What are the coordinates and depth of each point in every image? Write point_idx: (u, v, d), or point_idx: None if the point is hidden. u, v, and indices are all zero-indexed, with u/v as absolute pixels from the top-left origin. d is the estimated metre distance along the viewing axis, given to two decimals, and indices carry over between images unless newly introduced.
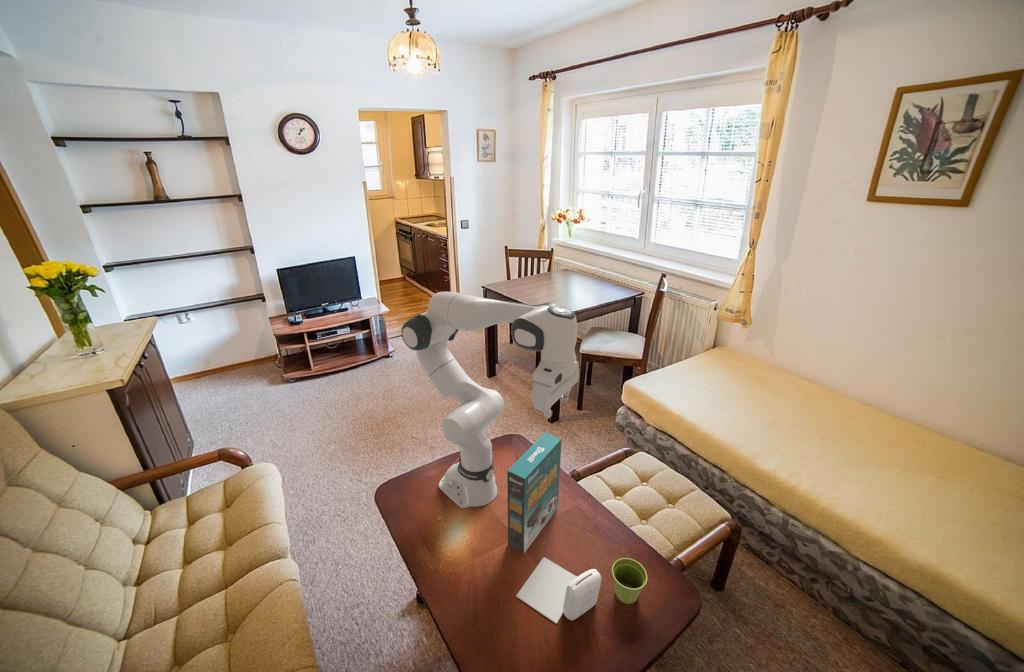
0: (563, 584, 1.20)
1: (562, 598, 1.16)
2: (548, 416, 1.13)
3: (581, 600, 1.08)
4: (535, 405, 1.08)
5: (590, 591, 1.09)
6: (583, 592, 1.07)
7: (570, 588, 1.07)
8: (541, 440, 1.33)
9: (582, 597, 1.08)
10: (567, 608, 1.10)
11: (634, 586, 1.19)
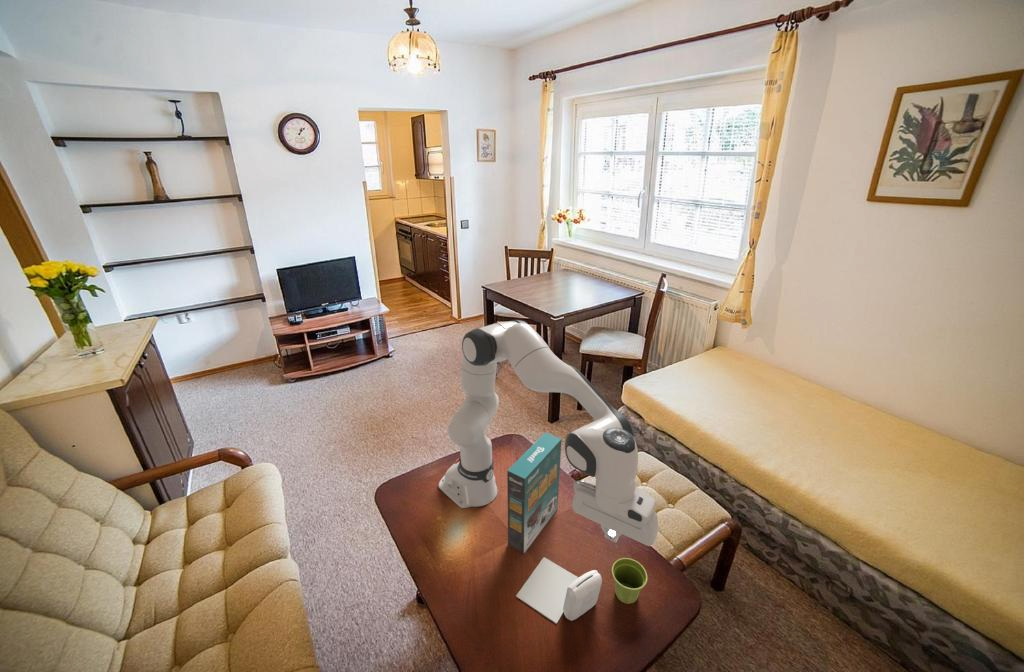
0: (563, 584, 1.20)
1: (562, 598, 1.16)
2: (618, 537, 1.01)
3: (581, 602, 1.08)
4: (654, 541, 0.93)
5: (590, 592, 1.08)
6: (583, 593, 1.07)
7: (571, 589, 1.07)
8: (541, 440, 1.33)
9: (582, 599, 1.07)
10: (567, 609, 1.09)
11: (634, 586, 1.19)
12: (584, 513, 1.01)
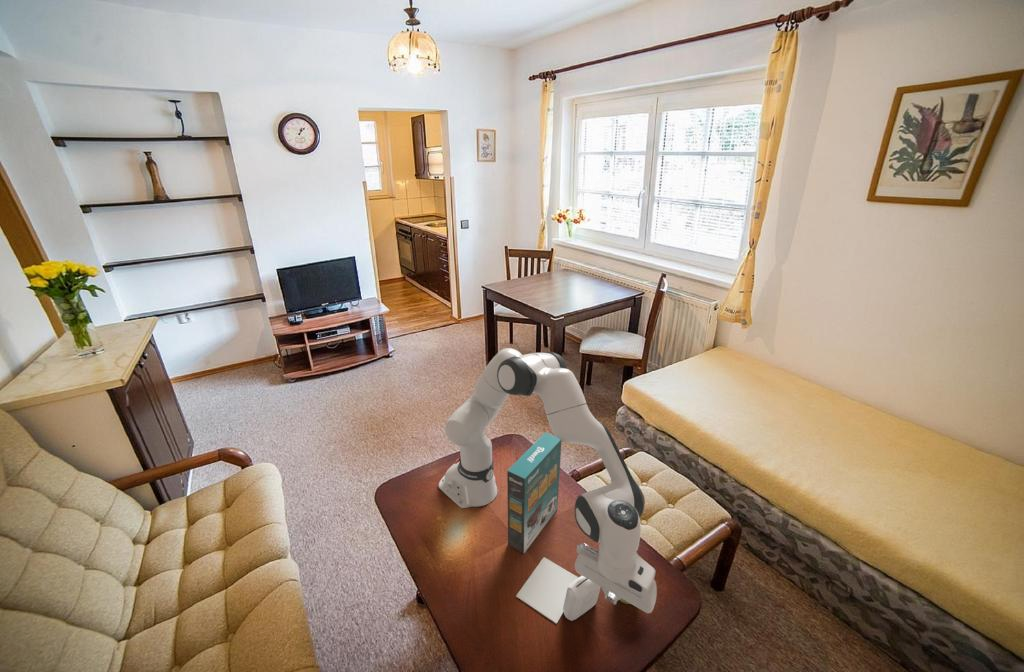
0: (563, 584, 1.20)
1: (562, 598, 1.16)
2: None
3: (581, 602, 1.08)
4: (652, 609, 0.98)
5: (590, 592, 1.08)
6: (583, 593, 1.07)
7: (571, 589, 1.07)
8: (541, 440, 1.33)
9: (582, 599, 1.07)
10: (567, 609, 1.09)
11: None
12: (586, 575, 1.06)
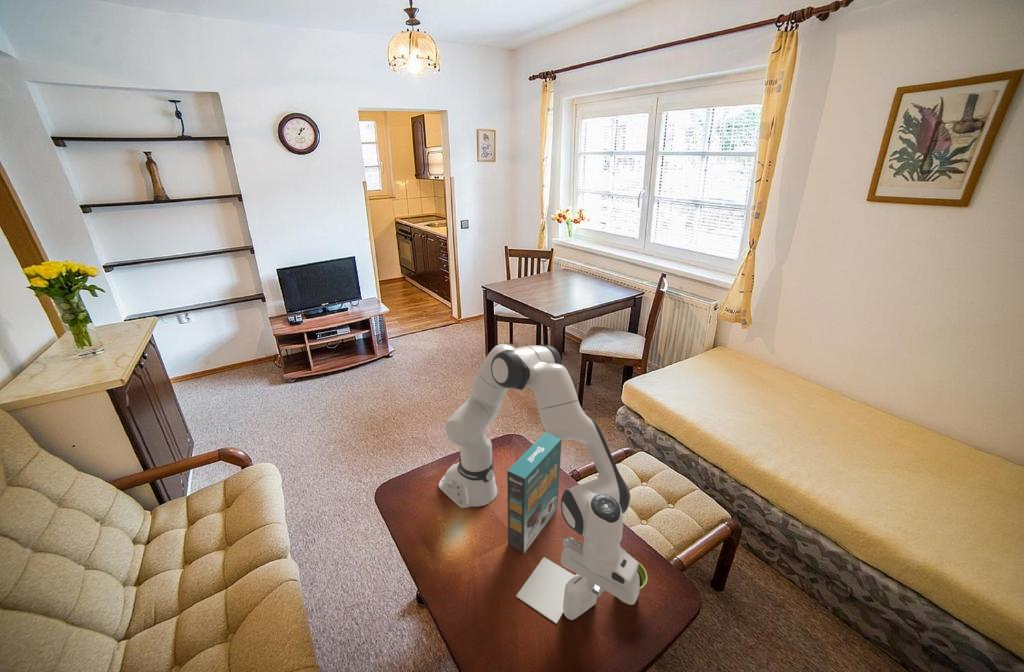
0: (563, 584, 1.20)
1: (562, 598, 1.16)
2: None
3: (580, 599, 1.08)
4: (635, 600, 1.00)
5: (588, 589, 1.09)
6: (581, 590, 1.07)
7: (568, 586, 1.08)
8: (541, 440, 1.33)
9: (581, 596, 1.08)
10: (566, 607, 1.10)
11: None
12: (572, 568, 1.08)
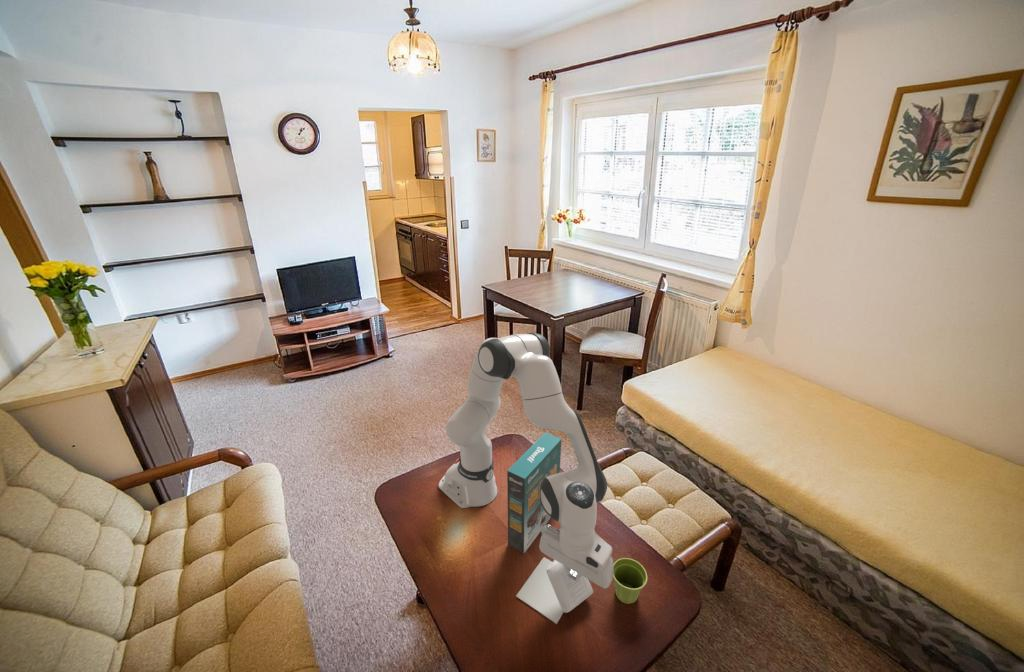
0: None
1: None
2: (579, 577, 1.11)
3: (563, 580, 1.12)
4: (609, 584, 1.03)
5: None
6: (558, 568, 1.13)
7: (547, 570, 1.14)
8: (541, 440, 1.33)
9: (561, 576, 1.12)
10: (558, 597, 1.12)
11: (634, 586, 1.19)
12: (549, 554, 1.12)
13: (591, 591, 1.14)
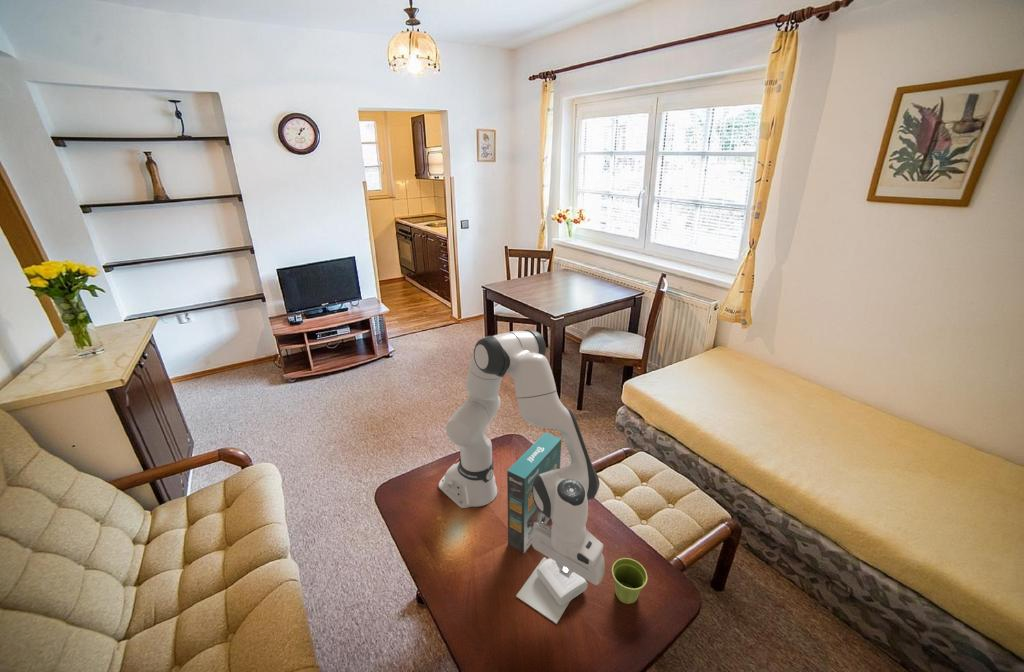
0: None
1: None
2: (571, 573, 1.12)
3: (550, 572, 1.19)
4: (600, 580, 1.05)
5: (554, 563, 1.21)
6: (544, 564, 1.21)
7: (537, 572, 1.21)
8: (541, 440, 1.34)
9: (548, 569, 1.20)
10: (550, 591, 1.15)
11: (634, 586, 1.19)
12: (542, 551, 1.13)
13: (583, 580, 1.17)
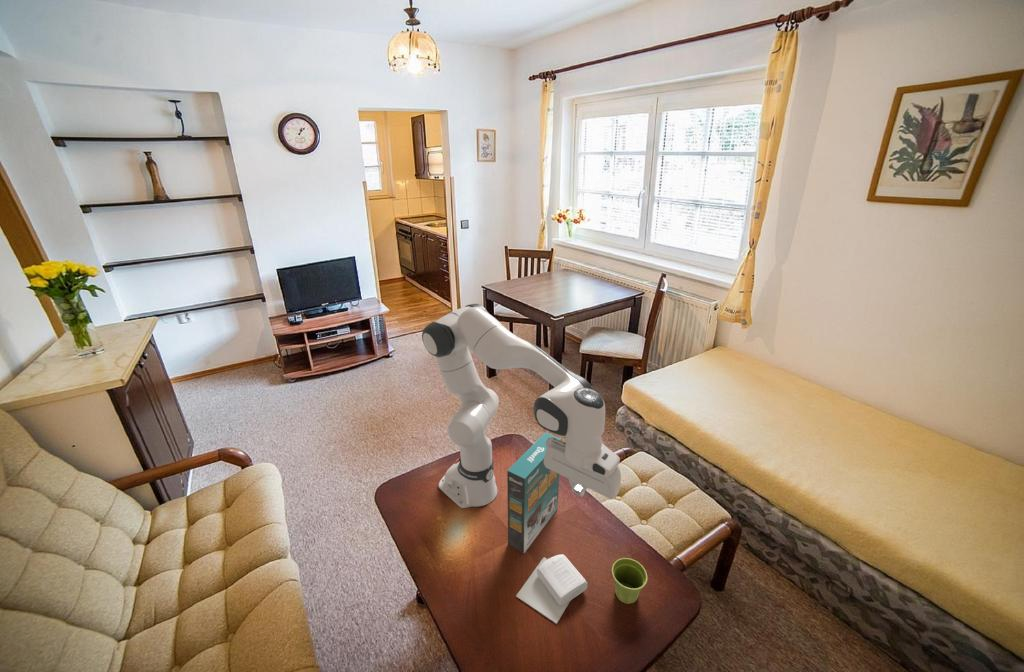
0: None
1: None
2: (584, 492, 1.08)
3: (550, 572, 1.19)
4: (615, 494, 1.00)
5: (554, 563, 1.21)
6: (544, 564, 1.21)
7: (537, 572, 1.21)
8: (541, 440, 1.33)
9: (548, 569, 1.20)
10: (550, 591, 1.15)
11: (634, 586, 1.19)
12: (554, 468, 1.08)
13: (583, 580, 1.17)
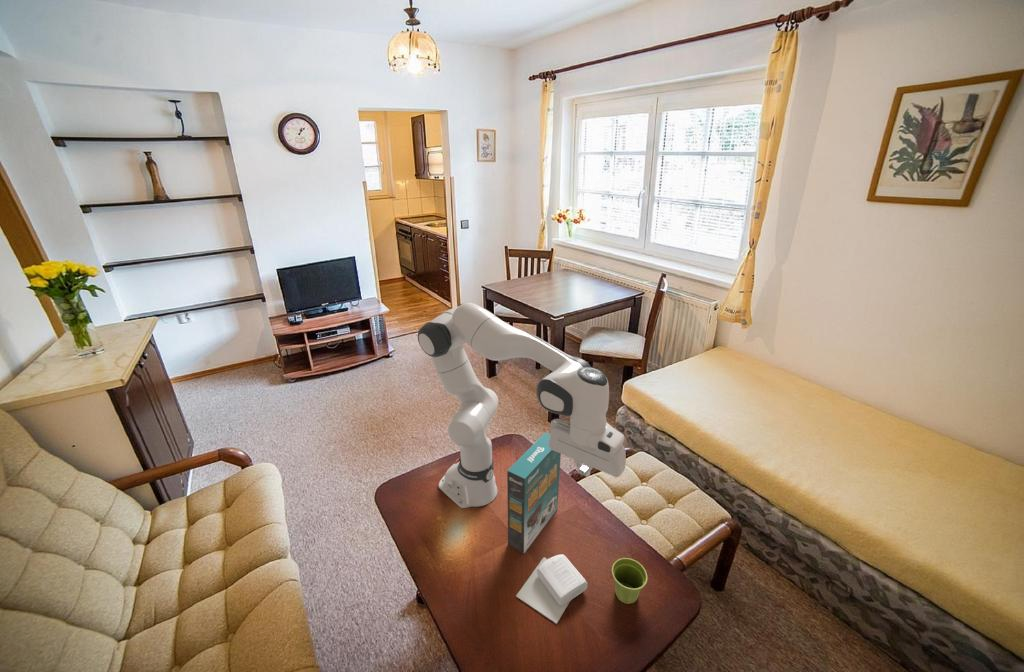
0: None
1: None
2: (589, 472, 1.09)
3: (550, 572, 1.19)
4: (621, 472, 1.01)
5: (554, 563, 1.21)
6: (544, 564, 1.21)
7: (537, 572, 1.21)
8: (541, 440, 1.33)
9: (548, 569, 1.20)
10: (550, 591, 1.15)
11: (634, 586, 1.19)
12: (559, 450, 1.09)
13: (583, 580, 1.17)
